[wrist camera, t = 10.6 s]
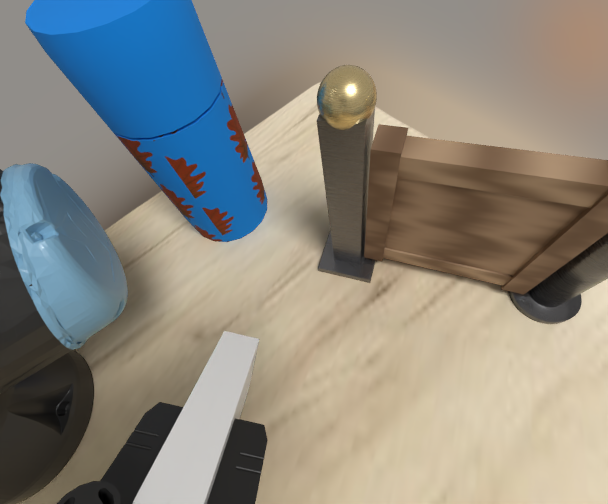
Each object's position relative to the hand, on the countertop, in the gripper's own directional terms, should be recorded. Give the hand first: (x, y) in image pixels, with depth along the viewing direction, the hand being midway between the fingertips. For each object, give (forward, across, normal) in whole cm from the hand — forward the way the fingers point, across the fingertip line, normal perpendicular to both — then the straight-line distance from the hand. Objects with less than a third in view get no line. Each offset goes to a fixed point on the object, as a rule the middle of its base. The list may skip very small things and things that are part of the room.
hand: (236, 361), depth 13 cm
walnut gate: (+21, +16, 0) cm, 27 cm away
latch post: (+24, +7, -2) cm, 25 cm away
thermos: (+31, -9, -2) cm, 32 cm away
